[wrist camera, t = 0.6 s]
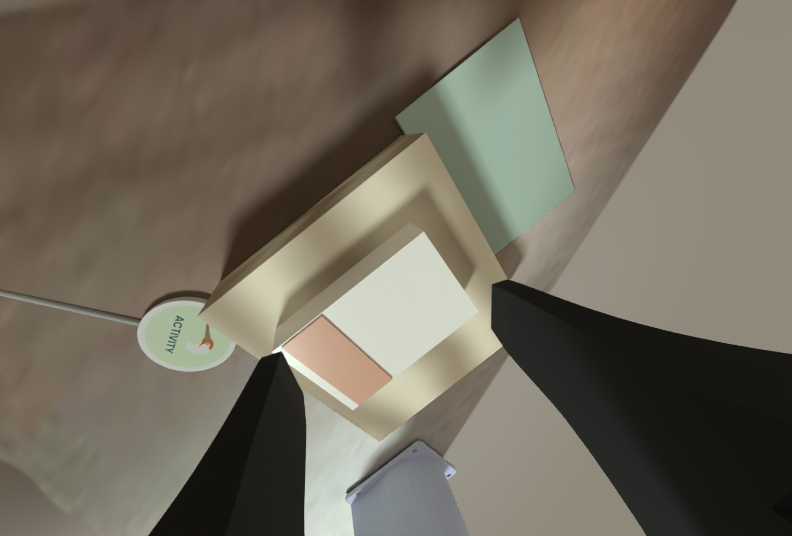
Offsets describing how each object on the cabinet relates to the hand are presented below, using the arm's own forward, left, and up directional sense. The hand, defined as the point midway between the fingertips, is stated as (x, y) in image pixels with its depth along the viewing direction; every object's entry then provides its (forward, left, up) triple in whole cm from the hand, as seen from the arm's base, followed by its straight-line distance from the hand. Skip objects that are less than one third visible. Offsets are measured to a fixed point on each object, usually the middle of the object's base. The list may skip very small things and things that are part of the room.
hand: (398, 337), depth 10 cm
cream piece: (-1, -4, -10) cm, 11 cm away
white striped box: (-1, -3, -6) cm, 7 cm away
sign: (-14, +6, -11) cm, 19 cm away
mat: (+11, -2, -10) cm, 15 cm away
